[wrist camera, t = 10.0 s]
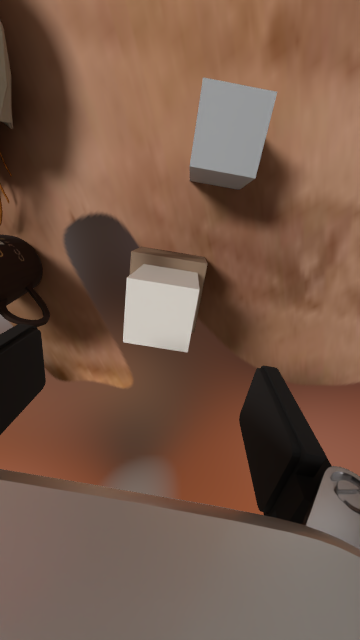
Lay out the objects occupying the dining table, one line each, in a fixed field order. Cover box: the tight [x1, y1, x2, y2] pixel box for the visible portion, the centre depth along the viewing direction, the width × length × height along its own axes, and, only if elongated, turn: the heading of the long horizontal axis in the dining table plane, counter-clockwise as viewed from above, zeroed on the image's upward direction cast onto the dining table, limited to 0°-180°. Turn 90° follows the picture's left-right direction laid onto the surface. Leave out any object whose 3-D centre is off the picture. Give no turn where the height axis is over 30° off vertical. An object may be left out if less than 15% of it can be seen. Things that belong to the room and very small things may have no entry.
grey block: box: [190, 78, 277, 190], centre depth 19 cm, size 5×5×6 cm
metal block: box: [130, 247, 207, 332], centre depth 24 cm, size 7×7×5 cm
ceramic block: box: [123, 264, 200, 352], centre depth 19 cm, size 5×5×6 cm
